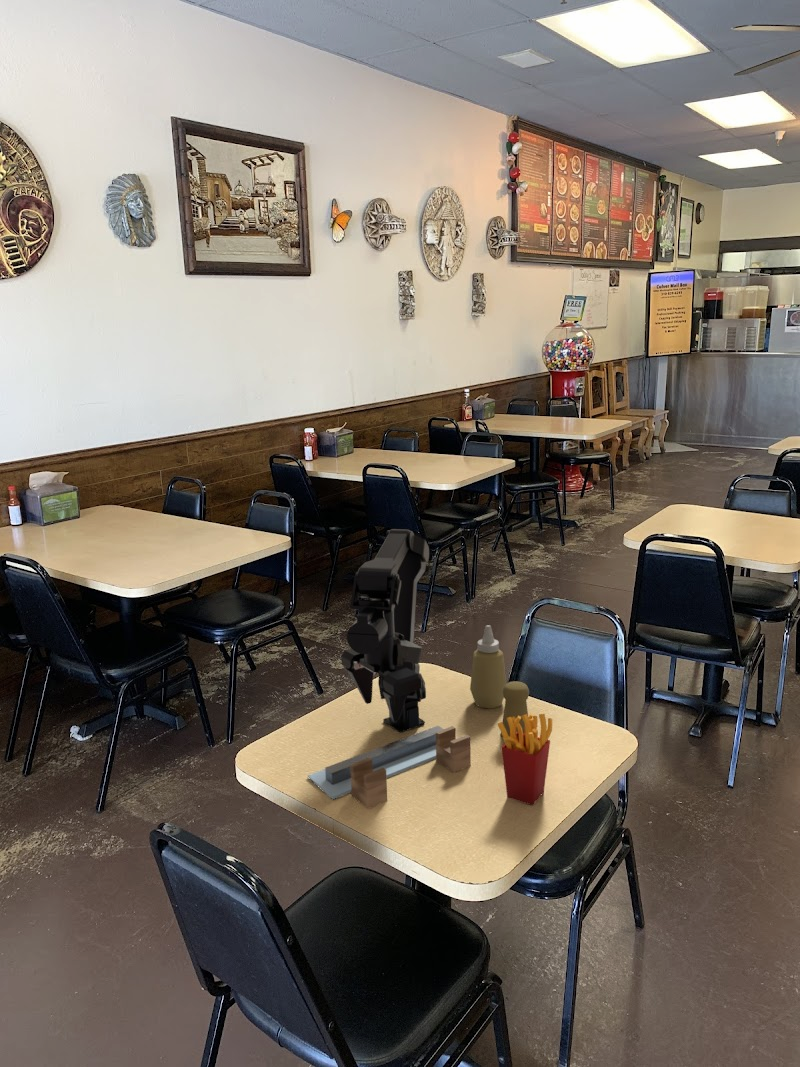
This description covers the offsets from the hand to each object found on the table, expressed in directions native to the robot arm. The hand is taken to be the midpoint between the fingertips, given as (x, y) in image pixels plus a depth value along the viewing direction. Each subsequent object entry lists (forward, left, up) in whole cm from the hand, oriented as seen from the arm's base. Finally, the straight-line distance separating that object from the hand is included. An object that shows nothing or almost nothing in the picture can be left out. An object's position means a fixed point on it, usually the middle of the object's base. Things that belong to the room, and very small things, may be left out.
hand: (381, 711), depth 149 cm
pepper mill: (+7, +28, -11) cm, 31 cm away
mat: (0, +1, -11) cm, 11 cm away
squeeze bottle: (-7, +33, -11) cm, 35 cm away
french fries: (+23, +15, -11) cm, 29 cm away
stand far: (+8, +11, -11) cm, 17 cm away
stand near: (+8, -8, -11) cm, 16 cm away
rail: (0, +1, -10) cm, 10 cm away
